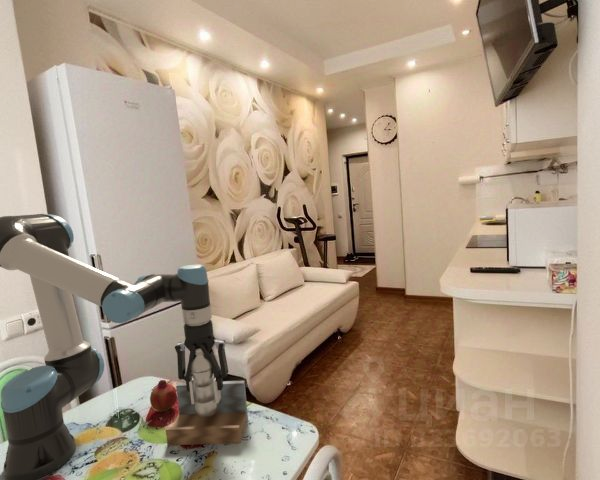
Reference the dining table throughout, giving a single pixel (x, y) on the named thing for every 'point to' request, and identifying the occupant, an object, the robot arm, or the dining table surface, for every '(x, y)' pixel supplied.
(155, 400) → the fruit
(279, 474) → the dining table surface
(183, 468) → the dining table surface
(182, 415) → the brown wooden box
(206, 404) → the silver metal bottle
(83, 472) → the dining table surface
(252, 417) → the dining table surface
